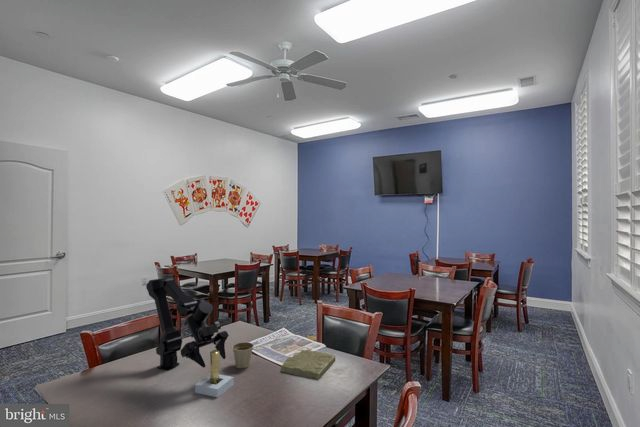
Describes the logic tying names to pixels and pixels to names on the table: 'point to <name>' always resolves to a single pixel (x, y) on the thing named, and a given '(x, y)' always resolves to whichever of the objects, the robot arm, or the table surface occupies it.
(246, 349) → the flower pot
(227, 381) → the socket block
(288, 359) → the decorative tile
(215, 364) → the pin
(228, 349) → the table surface
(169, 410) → the table surface
